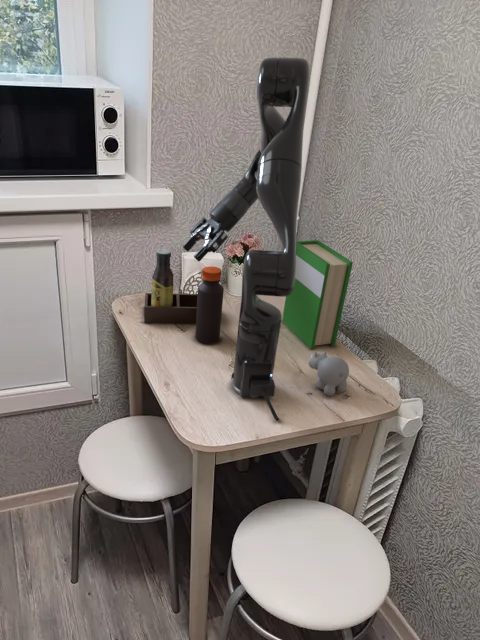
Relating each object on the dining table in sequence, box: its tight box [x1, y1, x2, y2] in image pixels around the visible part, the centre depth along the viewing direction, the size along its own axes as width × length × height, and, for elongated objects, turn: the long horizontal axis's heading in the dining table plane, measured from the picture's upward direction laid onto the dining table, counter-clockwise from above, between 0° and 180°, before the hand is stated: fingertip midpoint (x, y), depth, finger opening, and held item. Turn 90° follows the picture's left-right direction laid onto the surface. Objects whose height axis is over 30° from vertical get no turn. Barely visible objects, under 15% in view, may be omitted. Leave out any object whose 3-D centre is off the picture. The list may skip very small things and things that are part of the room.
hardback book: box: [281, 239, 354, 350], centre depth 143 cm, size 18×7×24 cm, turn 18°
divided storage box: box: [143, 292, 198, 325], centre depth 154 cm, size 10×19×5 cm, turn 92°
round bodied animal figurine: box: [308, 349, 350, 397], centre depth 125 cm, size 7×12×8 cm, turn 24°
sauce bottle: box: [151, 248, 174, 307], centre depth 150 cm, size 6×6×20 cm
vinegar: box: [194, 265, 225, 345], centre depth 139 cm, size 7×7×20 cm
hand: (190, 254), depth 148 cm, fingers open, 8 cm apart
